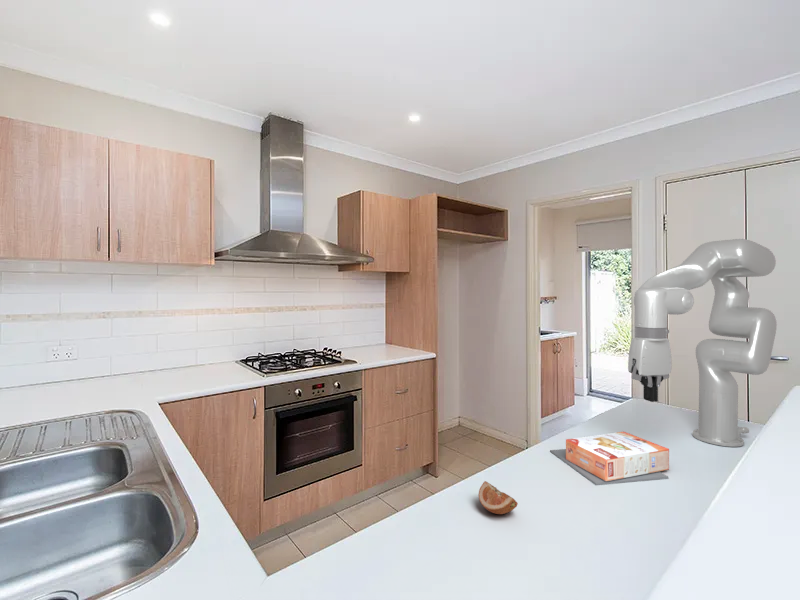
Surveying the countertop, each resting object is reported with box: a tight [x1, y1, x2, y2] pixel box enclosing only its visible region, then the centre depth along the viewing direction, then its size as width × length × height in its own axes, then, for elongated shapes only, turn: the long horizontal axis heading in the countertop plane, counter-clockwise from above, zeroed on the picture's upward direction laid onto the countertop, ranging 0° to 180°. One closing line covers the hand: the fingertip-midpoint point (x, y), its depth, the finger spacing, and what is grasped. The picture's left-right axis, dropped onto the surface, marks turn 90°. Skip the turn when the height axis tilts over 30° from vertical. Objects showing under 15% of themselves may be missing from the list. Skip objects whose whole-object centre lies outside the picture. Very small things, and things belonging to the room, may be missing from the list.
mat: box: [549, 448, 669, 486], centre depth 106 cm, size 20×20×1 cm
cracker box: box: [565, 431, 670, 481], centre depth 104 cm, size 14×6×21 cm
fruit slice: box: [478, 480, 519, 515], centre depth 82 cm, size 8×7×5 cm
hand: (650, 400), depth 108 cm, fingers closed
